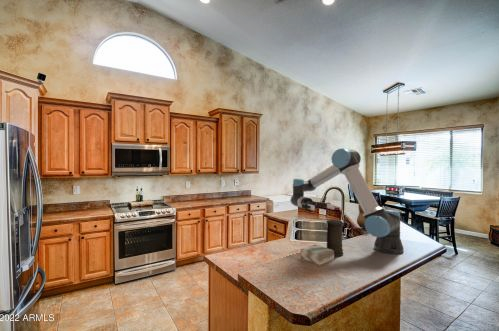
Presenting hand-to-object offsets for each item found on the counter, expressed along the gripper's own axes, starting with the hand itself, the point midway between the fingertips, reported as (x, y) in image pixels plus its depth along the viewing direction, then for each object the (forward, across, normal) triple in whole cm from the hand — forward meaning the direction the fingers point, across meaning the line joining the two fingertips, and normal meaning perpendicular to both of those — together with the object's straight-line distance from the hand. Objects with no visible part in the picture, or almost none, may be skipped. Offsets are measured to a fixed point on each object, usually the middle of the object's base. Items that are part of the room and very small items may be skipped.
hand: (324, 207), depth 150 cm
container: (+10, 0, -24) cm, 26 cm away
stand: (+14, +14, -24) cm, 31 cm away
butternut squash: (-31, -60, -24) cm, 72 cm away
